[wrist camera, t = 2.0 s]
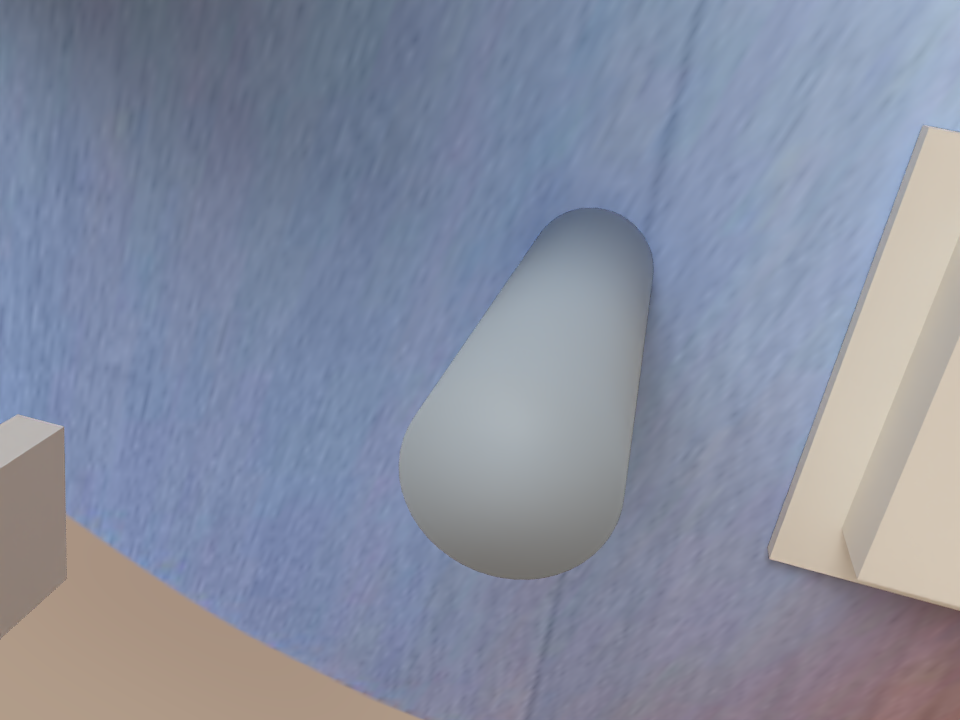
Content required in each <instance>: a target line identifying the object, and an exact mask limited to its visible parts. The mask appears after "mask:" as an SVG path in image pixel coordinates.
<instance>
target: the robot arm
mask: <svg viewBox="0 0 960 720" xmlns="http://www.w3.org/2000/svg"><path fill="white" fill-rule="evenodd" d="M66 568H67V567H66V510H65V453H64V427H63V426H60V425H56V424H52V423H48V422H44V421H41V420H37V419H33V418H29V417H26V416H22V415H18V414H17V415H16V416H14V417H12V418H11V419H9V420H7V421H6V422H4V423H2V424H0V639H1V638H2V637H3V636H4V635H5V634H6V633H8V632H9V631H10V630H11V629H12V628H13V627H14V626H15V625H16V624H17V623H19V622H20V621H21V620H22V619H23V618H24V617H25V616H26V615H27V614H29V613H30V612H31V611H32V610H33V609H34V608H35V607H36V606H37V605H38V604H40V603H41V602H42V601H43V600H44V599H45V598H46V597H47V596H49V595H50V594H51V593H52V592H53V591H54V590H55V589H56V588H57V587H58V586H60V585H61V584H62V583H63V582H64V581H65V580H66V579H67V569H66Z"/></svg>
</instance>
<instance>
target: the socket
mask: <svg viewBox="0 0 960 720" xmlns="http://www.w3.org/2000/svg"><path fill="white" fill-rule="evenodd" d="M768 553H769V559H771V560H775V561H779V562H782V563H786V564H790V565H793V566H797V567H801V568H804V569H808V570H812V571H815V572H819V573H823V574H826V575H830V576H834V577H837V578H841V579H845V580H848V581H852V582H856V583H859V584H863V585H867V586H870V587H874V588H878V589H881V590H885V591H889V592H892V593H896V594H900V595H903V596H907V597H911V598H914V599H918V600H922V601H925V602H929V603H933V604H936V605H940V606H944V607H947V608H951V609H955V610H958V611H960V132H956V131H951V130H946V129H941V128H937V127H932V126H927V125H923V126H922V129H921V131H920V134H919V137H918V139H917V142H916V145H915V148H914V150H913V153H912V156H911V158H910V161H909V164H908V167H907V169H906V172H905V175H904V178H903V180H902V183H901V186H900V188H899V191H898V194H897V197H896V199H895V202H894V205H893V207H892V210H891V213H890V216H889V218H888V221H887V224H886V227H885V229H884V232H883V235H882V237H881V240H880V243H879V246H878V248H877V251H876V254H875V256H874V259H873V262H872V265H871V267H870V270H869V273H868V276H867V278H866V281H865V284H864V286H863V289H862V292H861V295H860V297H859V300H858V303H857V305H856V308H855V311H854V314H853V316H852V319H851V322H850V325H849V327H848V330H847V333H846V335H845V338H844V341H843V344H842V346H841V349H840V352H839V354H838V357H837V360H836V363H835V365H834V368H833V371H832V374H831V376H830V379H829V382H828V384H827V387H826V390H825V393H824V395H823V398H822V401H821V403H820V406H819V409H818V412H817V414H816V417H815V420H814V423H813V425H812V428H811V431H810V433H809V436H808V439H807V442H806V444H805V447H804V450H803V452H802V455H801V458H800V461H799V463H798V466H797V469H796V472H795V474H794V477H793V480H792V482H791V485H790V488H789V491H788V493H787V496H786V499H785V501H784V504H783V507H782V510H781V512H780V515H779V518H778V521H777V523H776V526H775V529H774V531H773V534H772V537H771V540H770V542H769V545H768Z"/></svg>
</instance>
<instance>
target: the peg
mask: <svg viewBox="0 0 960 720" xmlns="http://www.w3.org/2000/svg"><path fill="white" fill-rule="evenodd" d="M652 280H653V259H652V254H651V251H650V248H649V245H648V243H647V241H646V239H645V237H644V236H643V235H642V233H641V232H640V231H639V229H638V228H637V227H636V226H635V225H634V224H633V223H631V222H630V221H629V220H628V219H626V218H624V217H623V216H621V215H619V214H617V213H615V212H612V211H609V210H605V209H599V208H581V209H576V210H572V211H569V212H567V213H564V214H562V215H560V216H559V217H557V218H556V219H554V220H553V221H551V222H550V223H549V224H548V225H547V226H546V227H545V228H544V229H543V230H542V232H541V233H540V234H539V236H538V237H537V239H536V240H535V242H534V243H533V244H532V246H531V247H530V249H529V250H528V252H527V253H526V255H525V256H524V258H523V259H522V260H521V262H520V263H519V265H518V266H517V268H516V269H515V271H514V272H513V274H512V275H511V276H510V278H509V279H508V281H507V282H506V284H505V285H504V287H503V288H502V290H501V291H500V293H499V294H498V295H497V297H496V298H495V300H494V301H493V303H492V304H491V306H490V307H489V309H488V310H487V311H486V313H485V314H484V316H483V317H482V319H481V320H480V322H479V323H478V325H477V326H476V328H475V329H474V330H473V332H472V333H471V335H470V336H469V338H468V339H467V341H466V342H465V344H464V345H463V346H462V348H461V349H460V351H459V352H458V354H457V355H456V357H455V358H454V360H453V361H452V363H451V364H450V365H449V367H448V368H447V370H446V371H445V373H444V374H443V376H442V377H441V379H440V380H439V381H438V383H437V384H436V386H435V387H434V389H433V390H432V392H431V393H430V395H429V396H428V398H427V399H426V400H425V402H424V403H423V405H422V406H421V408H420V409H419V411H418V412H417V414H416V415H415V417H414V418H413V420H412V422H411V423H410V425H409V427H408V429H407V431H406V434H405V436H404V438H403V442H402V446H401V450H400V458H399V478H400V483H401V489H402V493H403V496H404V499H405V502H406V504H407V506H408V509H409V511H410V513H411V515H412V517H413V518H414V520H415V521H416V523H417V524H418V526H419V528H420V529H421V530H422V531H423V532H424V534H425V535H426V536H427V537H428V538H429V539H430V540H431V541H432V542H433V543H434V544H435V545H436V546H437V547H438V548H439V549H440V550H442V551H443V552H444V553H446V554H447V555H448V556H449V557H451V558H453V559H454V560H456V561H458V562H459V563H461V564H463V565H465V566H467V567H469V568H471V569H473V570H476V571H479V572H482V573H485V574H487V575H492V576H496V577H500V578H508V579H538V578H545V577H549V576H554V575H558V574H560V573H563V572H566V571H568V570H571V569H572V568H574V567H576V566H578V565H580V564H582V563H583V562H585V561H586V560H587V559H589V558H590V557H591V556H593V555H594V554H595V553H596V552H597V551H598V550H599V549H600V548H601V547H602V546H603V545H604V543H605V542H606V541H607V540H608V538H609V537H610V535H611V534H612V532H613V530H614V528H615V526H616V525H617V522H618V519H619V517H620V514H621V511H622V506H623V501H624V494H625V487H626V479H627V471H628V464H629V456H630V448H631V441H632V433H633V425H634V418H635V410H636V402H637V395H638V387H639V379H640V372H641V364H642V357H643V349H644V341H645V334H646V326H647V318H648V311H649V303H650V295H651V288H652Z"/></svg>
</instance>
